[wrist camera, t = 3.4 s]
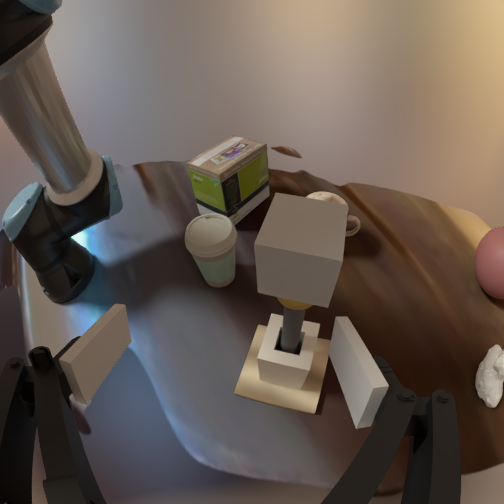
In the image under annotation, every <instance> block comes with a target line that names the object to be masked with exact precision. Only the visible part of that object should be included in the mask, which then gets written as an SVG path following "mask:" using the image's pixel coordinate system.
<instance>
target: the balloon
mask: <svg viewBox="0 0 504 504" xmlns="http://www.w3.org/2000/svg"><path fill="white" fill-rule="evenodd" d="M474 265H475V273H476V277H477V280H478V282H479V284H480V286H481V287H482V289H483V290H484V291H485V292H486V293H487V294H488V295H490V296H492V297H494V298H497V299H504V227H498V228H494V229H492V230H491V231H489V232H488V233H487V234H486V235H485V236H484V237H483V238H482V240H481V241H480V243H479V245H478V247H477V250H476V254H475V262H474Z"/></svg>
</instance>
